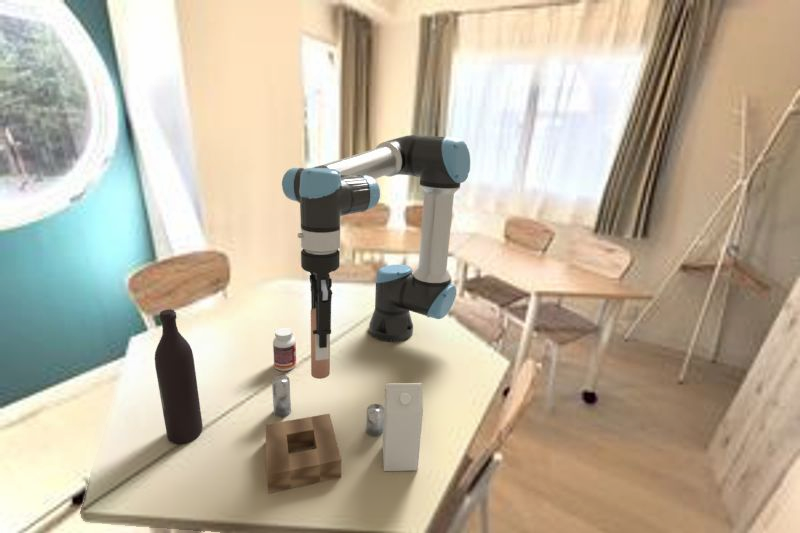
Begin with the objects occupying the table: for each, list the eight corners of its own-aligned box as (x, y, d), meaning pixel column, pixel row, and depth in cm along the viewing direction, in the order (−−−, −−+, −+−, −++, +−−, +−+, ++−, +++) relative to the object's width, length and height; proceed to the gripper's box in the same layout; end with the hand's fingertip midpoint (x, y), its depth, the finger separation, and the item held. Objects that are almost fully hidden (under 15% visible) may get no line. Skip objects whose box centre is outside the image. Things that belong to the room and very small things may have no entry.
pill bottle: (299, 368, 118) (298, 334, 114) (278, 374, 114) (276, 339, 111) (292, 357, 122) (290, 324, 119) (271, 363, 119) (269, 329, 115)
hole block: (329, 429, 95) (329, 413, 94) (341, 477, 83) (341, 459, 81) (266, 441, 91) (265, 424, 89) (268, 493, 78) (267, 475, 77)
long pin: (328, 367, 92) (328, 306, 88) (331, 377, 89) (331, 314, 84) (310, 369, 91) (309, 308, 86) (312, 379, 88) (311, 316, 83)
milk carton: (382, 446, 91) (385, 373, 85) (413, 445, 92) (419, 373, 86) (383, 471, 85) (387, 395, 78) (417, 471, 85) (424, 394, 79)
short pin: (380, 423, 98) (381, 402, 96) (385, 435, 95) (386, 413, 93) (364, 426, 97) (365, 405, 95) (368, 438, 93) (369, 416, 91)
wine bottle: (190, 418, 96) (173, 301, 86) (209, 430, 93) (194, 310, 83) (160, 436, 90) (139, 313, 80) (180, 450, 87) (160, 323, 77)
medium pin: (290, 405, 102) (288, 374, 99) (291, 415, 99) (290, 383, 96) (273, 407, 101) (271, 376, 98) (274, 418, 98) (272, 386, 95)
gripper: (297, 238, 87) (299, 335, 95) (305, 263, 72) (307, 377, 80) (332, 237, 90) (331, 332, 97) (347, 262, 74) (345, 372, 82)
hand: (320, 352), depth 88 cm, fingers closed on long pin, 4 cm apart
